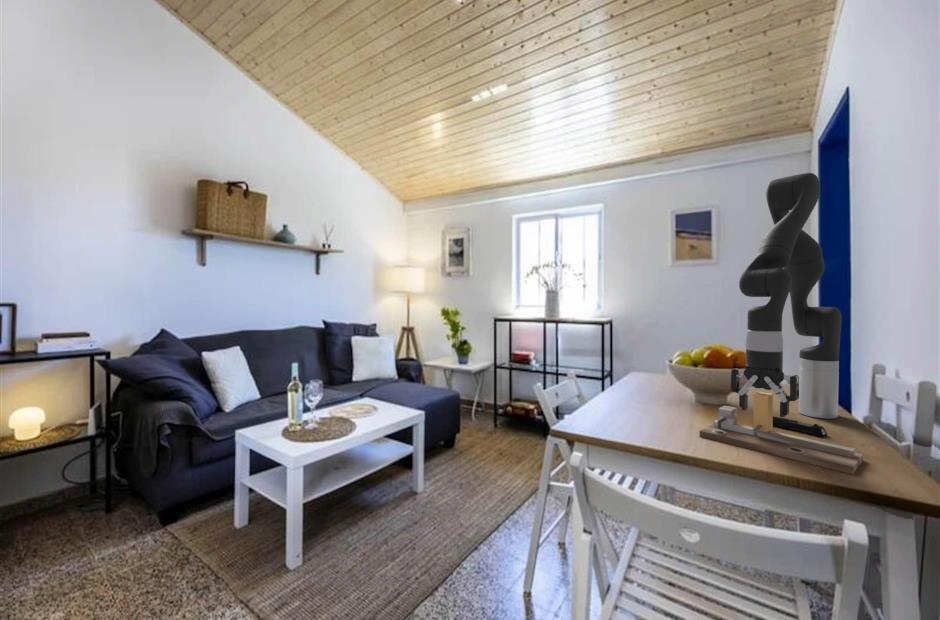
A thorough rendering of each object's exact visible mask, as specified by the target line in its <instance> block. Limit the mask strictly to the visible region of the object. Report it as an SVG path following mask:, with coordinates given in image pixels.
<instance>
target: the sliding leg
mask: <svg viewBox="0 0 940 620" xmlns="http://www.w3.org/2000/svg"><path fill="white" fill-rule="evenodd" d="M752 409H753V410H752V411H753V414H752V415H753V416H752V419H753V420H752V423H753V426H752V427H753V430H754V436H755V437H757V430H758V431H763V432H769V431H772V430H773V426H774V425H773V416H774V394H773V393H770V392H763V391H758V392H755V393H754V394H753V406H752Z"/></svg>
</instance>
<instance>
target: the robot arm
mask: <svg viewBox="0 0 940 620" xmlns="http://www.w3.org/2000/svg"><path fill="white" fill-rule="evenodd" d="M820 184H821V183H820V180H819V178H818V176H817V175H816V174H815V173H813V172H806V173H805V172H804V173H800V174H799V173H798V174H794V175H790V176H789V175H788V176H784V177H781V178H776V179H773V180H771V181H769V182H768V184H767V185H766V189H765V190H766V191H765V196H766V202H767V206H768V207H767V208H768V210H769V213H770V216H771V218H772V222H773V226H772V227H771V228H770V229H769V230H768V231H767V232H766V234H765V235H764V236H763V238H762V240H761V243H760V246H759V248H758V251H757V254H756V256H754V258H753V259H752V260H751V262H750V264H749V265H747V267H745V269H744V271H743V272H742V274H741V276H740V277H739V282H738V283H739V284H738V286H739V290H740V292H741V294H743V295H744V296H745V297H748V298H749V297H751V298H770V299H769V301H768V302H767V303H766V304H764V305H759V306H753V307H750V308H749V309H748V311H747V331H746V337H745V369H739V368H738V367H736V368H732V369H731V370H730V373H731V374H730V391H731V392H732V393H736V394H738V397H739V398H738V400H739V401H738V405H739V408H741V410H742V411H747V410H748V407H749V404H748V403H749V394H747V393H748V392H749V391H750V390H751V389H753V388H755V389H764V390H767V391H771V390H772V391H773V393H774V395H777V397H778V398H779V400H780V402H779V417H780V418H785V417H786V416H788V415H789V413H790V402H796V401H798V413H799V414H801V415H805V416H808V417H813V418H818V419H827V420H828V419H830V420H831V419H838V417H839V416H838V415H839V379H840V378H839V377H840V376H839V375H840V373H839V372H840V371H839V369H840V365H839V364H840V361H839V360H840V349H841V348H840V347H841V333H842V324H843V323H842V322H843V320H842V319H843V318H842V313H841V310H840V309H839V308H837V307H834V306H809V305H808V297H809V295H810V293H811V291H812V290H813V289H814V287H815V285H816V284H817V283H818V282H819V280H820V279H821V278H822V276H823V274H824V272H825V268H826V266H825V261H824V256H823V250H822V247H821V245H820V243H818V242H817V241H816V240H815V238H813V237H812V236H811V235H810V234H808V233H807V232H806V231H805V230H803V228H804V226H805V224H806V223H807V221H808V219H809V218H810V216H811V214H812V212H813V210H814V209H815V207H816V204H817V202H818V201H819V197H820V195H821V194H820V193H821V185H820ZM788 297H790V304H791V313H792V323H793V327H794V331H795V332H796V333H797V334H798V335H800V336H803V337H813V338H814V337H815V338H823V340H822V342H820V343H819V344H817V345H813V346H807V347H803V348H801V349H800V351H799V366H798V367H799V368H798V369H799V370H798V371H799V372H798V374H799V375H797V374H794V375H792V374H791V375H790V374H785V373H784V371H783V369H784V368H783V364H784V363H783V361H784V359H783V358H784V355H783V354H784V339H783V338H784V337H783V331H782V330H783V314H784V313H783V312H784V309H785V306H786V305H785V304H786V301H787V298H788ZM743 376H744V377H745V378H746V379H747V382H745V384H744V385H743V386H742V387H740V381H741V379H740V378H742V377H743ZM784 380H785V381H786V383H787V384H788V385H789V394H788V393H787V392H786V390H785V388H784V387H783V386H782V385H781V383H782V382H783V381H784Z"/></svg>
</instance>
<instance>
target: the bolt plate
mask: <svg viewBox="0 0 940 620" xmlns="http://www.w3.org/2000/svg"><path fill="white" fill-rule="evenodd" d="M737 414H738V407H733V406H728V405H723V406H721V407H718V419H716V420H714V421H713V423H712V424H710V425H708V426H706V427H704V428H702V429H701V430H700V429H699V437H700V438H705V439H709V440H713V441H717V442H722V443H726V444H730V445H733V446H738V447H742V448H745V449H750V450H753V451H757V452H761V453H765V454H770V455H774V456H778V457H781V458H785V459H790V460H794V461H797V462H802V463H806V464H810V465H814V466H819V467H822V468H826V469H831V470H834V471H838V472H843V473H847V474H850V475H855V473H856V471H857V470H858V468H859V467H860V465H861V464H862V463H863V461H864V453H860V452H857V451H856V448H853V447H850V446H849V447H848V446H844V445H839V444H833V443H830V442H825V441H822V440H821V441H820V440H816V439H812V438H811V439H810V438H806V437H801V436H796V435H792V434H788V433H787V434H786V433H783V432H782V433H781V432H778V431H772V430H770V431H769V432H763V431H758V430H757V437H755V436H754V430H753V426H749V425H744V424H738V423H737V421H738V418H737V417H738V415H737Z"/></svg>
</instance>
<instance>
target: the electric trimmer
mask: <svg viewBox="0 0 940 620" xmlns="http://www.w3.org/2000/svg"><path fill="white" fill-rule="evenodd" d="M773 426H775V427H778V428H780V429H781V428H782V429H784V430H785V429H786V430H792V431H793V430H794V431H797V432H802V433H806V434H810V435H815V436H817V437H818V438H827V437H828V433H827V430H826V429H825V428H824V426H823V425H819V424H818V423H814V424H810V423H806V422H805V423H804V422H801V421H800V422H799V421H798V420H794V419H789V418H785V417H780V416H774V415H773Z"/></svg>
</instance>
